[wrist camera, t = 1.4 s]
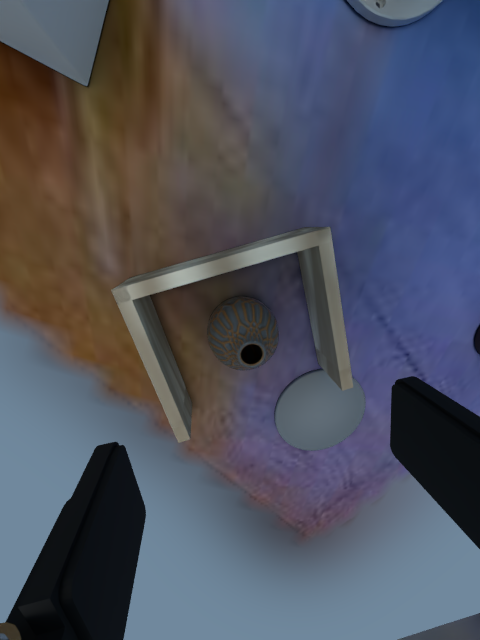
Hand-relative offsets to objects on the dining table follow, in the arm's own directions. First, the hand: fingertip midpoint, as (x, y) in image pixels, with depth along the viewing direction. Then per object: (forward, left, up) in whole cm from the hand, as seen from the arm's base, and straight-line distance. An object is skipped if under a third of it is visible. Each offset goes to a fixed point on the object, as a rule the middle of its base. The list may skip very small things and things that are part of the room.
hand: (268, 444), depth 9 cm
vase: (-1, +3, -21) cm, 22 cm away
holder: (-1, +3, -21) cm, 21 cm away
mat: (-8, +18, -21) cm, 29 cm away
